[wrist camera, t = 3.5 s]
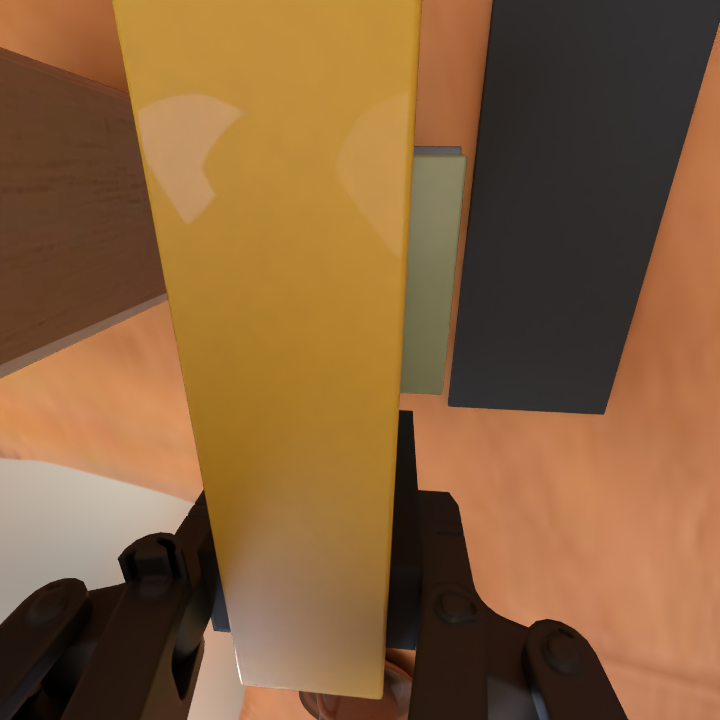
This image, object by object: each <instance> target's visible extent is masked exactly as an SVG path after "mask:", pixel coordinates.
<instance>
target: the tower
mask: <svg viewBox="0 0 720 720" xmlns="http://www.w3.org/2000/svg"><path fill="white" fill-rule="evenodd" d="M466 163H467V157H466V155H461V147H460V146H414V154H413V171H412V189H411V207H410V224H409V242H408V260H407V277H406V295H405V313H404V330H403V348H402V366H401V383H400V393H415V394H434V395H441V394H442V392H443V383H444V374H445V364H446V355H447V345H448V336H449V326H450V316H451V307H452V297H453V288H454V278H455V269H456V259H457V250H458V240H459V230H460V221H461V211H462V202H463V192H464V183H465V173H466Z"/></svg>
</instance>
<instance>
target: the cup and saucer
mask: <svg viewBox="0 0 720 720" xmlns="http://www.w3.org/2000/svg"><path fill="white" fill-rule="evenodd" d="M412 680H413V679H412V678H411V677H410V676H409V675H408V674H407V673H406V672H405V671H403V670H402V669H401V668H399V667H398V666H396V665H395V664H393V663H391V662H389V661H386V660H385V666H384V684H383V696H382V698H381V699H371V698H362V697H353V696H343V695H334V694H325V693H315V692H306V691H299V697H300V700H301V702H302V704H303V706H304V707H305V709H306V710H307V711H308V712H309V713H310V714H311V715H312V716H313V717H315V718H316V719H317V720H408V712H409V704H410V696H411V688H412Z"/></svg>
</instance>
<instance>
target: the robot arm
mask: <svg viewBox="0 0 720 720" xmlns="http://www.w3.org/2000/svg"><path fill="white" fill-rule="evenodd" d="M118 561H119V564H120V567H121V570H122V573H123V576H124V579H125V582H126V583H122V584H119V585H115V586H110V587H105V588H100V589H96V590H91V591H87V588H86V586H85V584H84V582H83V581H81V580H78V579H76V578H65V579H61V580H57V581H54V582H51V583H49V584H47V585H45V586H43V587H42V588H40V589H38V590H36V591H35V592H34V593H32V594H31V595H30V596H29V597H28V598H27V599H25V600H24V601H23V602H22V603H21V604H20V605H19V606H18V607H17V608H16V609H15V610H14V611H13V612H12V613H11V614H10V615H9V616H8V617H7V619H6V620H4V621H3V623H2V624H1V625H0V720H187V717H188V713H189V709H190V705H191V701H192V698H193V694H194V689H195V686H196V682H197V677H198V674H199V670H200V666H201V662H202V658H203V654H204V643H205V641H204V637H203V634H204V631H205V629H206V627H207V624H208V622H209V620H210V618H211V620H212V624H213V629H214V631H221V632H231V630H230V625H229V619H228V614H227V609H226V603H225V598H224V593H223V587H222V582H221V577H220V571H219V566H218V561H217V556H216V550H215V545H214V540H213V534H212V529H211V524H210V518H209V513H208V508H207V503H206V497H205V492H204V490H203V491H202V493H201V494H200V496H199V497H198V499H197V500H196V502H195V505H193V507H192V508H191V510H190V511H189V513H188V516H186V518H185V519H184V521H183V522H182V524H181V526H180V527H179V529H178V530H177V532H176V533H175V535H173V534H171V533H162V532H160V533H155V534H150V535H147V536H145V537H143V538H140V539H138V540H136V541H135V542H133V543H132V544H131V545H130V546H128V547H127V548H126V549H125V550H124V551H123V552H122V554H121V555H120V556H119V558H118ZM415 646H416V657H415V665H414V673H413V680H412V688H411V696H410V704H409V712H408V720H628V718H627V716H626V714H625V712H624V710H623V708H622V706H621V704H620V702H619V700H618V698H617V696H616V694H615V692H614V690H613V688H612V686H611V683H610V681H609V679H608V677H607V675H606V673H605V671H604V669H603V667H602V665H601V663H600V661H599V659H598V657H597V655H596V653H595V652H594V650H593V649H592V647H591V646H590V644H589V643H588V641H587V640H586V639H585V638H584V637H583V636H582V635H581V634H579V633H578V632H577V631H576V630H575V629H573V628H572V627H570V626H568V625H566V624H564V623H562V622H560V621H555V620H550V619H545V620H540V621H536V622H535V623H534V624H532V625H531V626H530V627H529V628H528V627H526V626H523V625H521V624H518V623H516V622H514V621H511V620H509V619H506V618H504V617H502V616H500V615H499V614H497V613H495V612H494V611H493V610H491V609H490V608H489V607H488V606H487V605H486V604H485V603H484V602H483V601H482V600H481V598H480V597H479V595H478V593H477V592H476V589H475V586H474V583H473V579H472V574H471V568H470V563H469V558H468V553H467V548H466V543H465V537H464V532H463V527H462V523H461V517H460V511H459V506H458V504H457V503H456V502H455V500H454V499H453V497H452V496H451V495H450V493H449V492H438V491H423V490H418V484H417V469H416V455H415V440H414V426H413V411H403V410H399V419H398V436H397V454H396V472H395V489H394V507H393V525H392V542H391V560H390V578H389V595H388V613H387V631H386V648H396V649H406V650H415Z"/></svg>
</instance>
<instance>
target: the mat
mask: <svg viewBox="0 0 720 720" xmlns="http://www.w3.org/2000/svg"><path fill="white" fill-rule="evenodd" d="M719 22H720V0H493V5H492V14H491V23H490V32H489V41H488V50H487V59H486V68H485V77H484V86H483V95H482V104H481V113H480V121H479V130H478V139H477V148H476V157H475V166H474V175H473V184H472V193H471V202H470V211H469V220H468V229H467V238H466V246H465V255H464V264H463V273H462V282H461V291H460V300H459V309H458V318H457V327H456V336H455V345H454V354H453V363H452V371H451V380H450V389H449V398H448V406H450V407H469V408H488V409H507V410H526V411H545V412H564V413H583V414H602V415H604V413H605V409H606V406H607V403H608V399H609V396H610V393H611V389H612V386H613V382H614V379H615V376H616V372H617V369H618V365H619V362H620V359H621V355H622V352H623V348H624V345H625V342H626V338H627V335H628V331H629V328H630V325H631V321H632V318H633V314H634V311H635V308H636V304H637V301H638V297H639V294H640V291H641V287H642V284H643V280H644V277H645V274H646V270H647V267H648V263H649V260H650V257H651V253H652V250H653V246H654V243H655V240H656V236H657V233H658V229H659V226H660V223H661V219H662V216H663V212H664V209H665V206H666V202H667V199H668V195H669V192H670V189H671V185H672V182H673V178H674V175H675V172H676V168H677V165H678V161H679V158H680V155H681V151H682V148H683V144H684V141H685V138H686V134H687V131H688V128H689V124H690V121H691V117H692V114H693V111H694V107H695V104H696V100H697V97H698V94H699V90H700V87H701V83H702V80H703V77H704V73H705V70H706V66H707V63H708V60H709V56H710V53H711V49H712V46H713V43H714V39H715V36H716V32H717V29H718V26H719Z"/></svg>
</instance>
